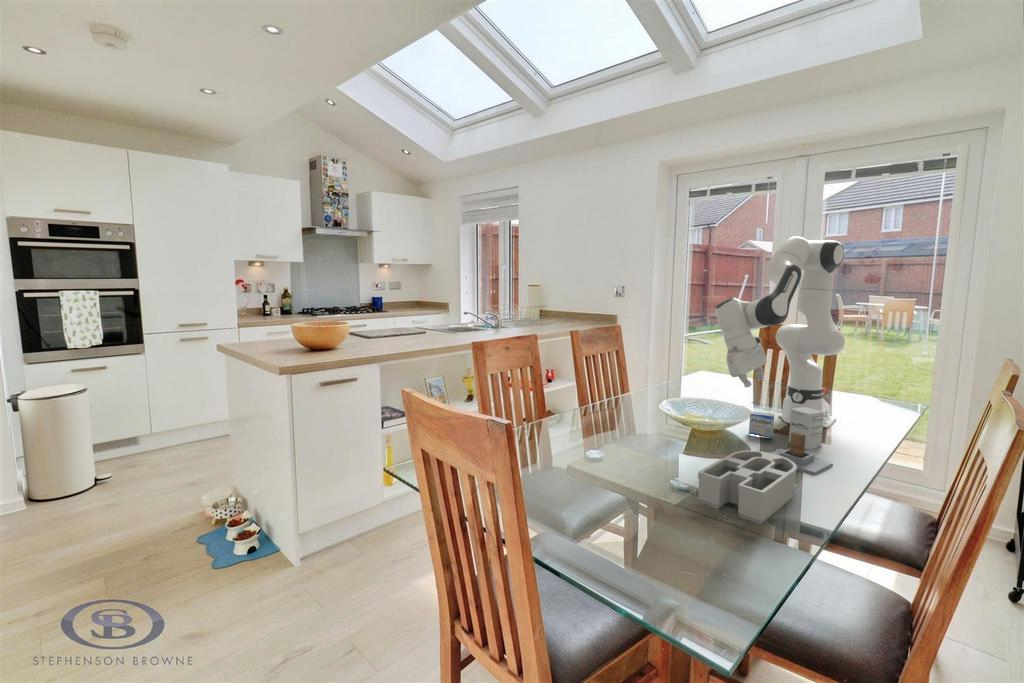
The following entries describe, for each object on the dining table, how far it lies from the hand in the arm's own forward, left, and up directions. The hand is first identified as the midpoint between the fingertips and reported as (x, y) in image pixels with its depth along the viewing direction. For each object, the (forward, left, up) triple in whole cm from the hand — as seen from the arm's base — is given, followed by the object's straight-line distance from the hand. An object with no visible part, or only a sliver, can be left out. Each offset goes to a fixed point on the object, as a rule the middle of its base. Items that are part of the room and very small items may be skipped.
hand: (754, 383), depth 167 cm
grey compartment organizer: (+37, +20, -23) cm, 48 cm away
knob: (+2, +16, -21) cm, 27 cm away
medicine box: (-14, -4, -23) cm, 27 cm away
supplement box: (-17, +10, -23) cm, 30 cm away
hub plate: (+2, +16, -22) cm, 28 cm away
